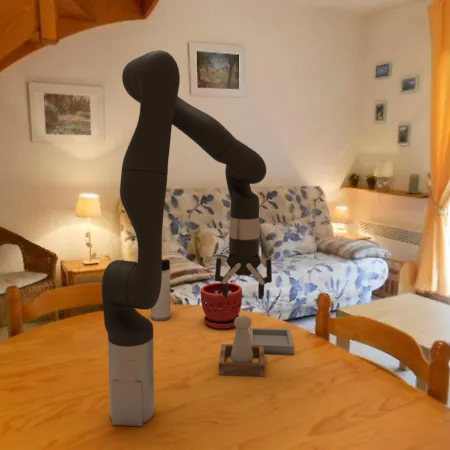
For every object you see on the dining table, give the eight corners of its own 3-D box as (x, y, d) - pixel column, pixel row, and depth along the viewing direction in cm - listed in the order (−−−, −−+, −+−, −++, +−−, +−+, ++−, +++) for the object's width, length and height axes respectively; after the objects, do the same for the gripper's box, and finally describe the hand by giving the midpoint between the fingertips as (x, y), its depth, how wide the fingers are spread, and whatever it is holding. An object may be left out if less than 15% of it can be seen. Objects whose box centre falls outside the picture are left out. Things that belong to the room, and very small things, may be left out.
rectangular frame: (264, 376, 118) (264, 365, 117) (218, 374, 118) (218, 363, 118) (263, 355, 129) (263, 345, 128) (221, 354, 129) (221, 344, 129)
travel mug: (148, 320, 152) (147, 260, 149) (154, 313, 159) (153, 255, 155) (166, 322, 151) (166, 261, 148) (172, 315, 158) (172, 256, 154)
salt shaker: (251, 371, 120) (252, 322, 118) (228, 369, 121) (229, 320, 119) (254, 361, 126) (255, 314, 123) (233, 358, 127) (233, 312, 124)
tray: (293, 354, 130) (293, 346, 129) (249, 353, 130) (249, 344, 130) (289, 337, 141) (289, 329, 141) (249, 335, 142) (249, 327, 142)
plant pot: (233, 314, 159) (234, 279, 157) (247, 329, 147) (248, 292, 145) (195, 318, 155) (196, 283, 153) (207, 333, 143) (207, 295, 141)
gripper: (214, 237, 114) (214, 301, 117) (273, 239, 113) (271, 303, 116) (216, 231, 121) (215, 292, 124) (272, 232, 121) (270, 293, 124)
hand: (242, 297), depth 120 cm, fingers open, 8 cm apart
